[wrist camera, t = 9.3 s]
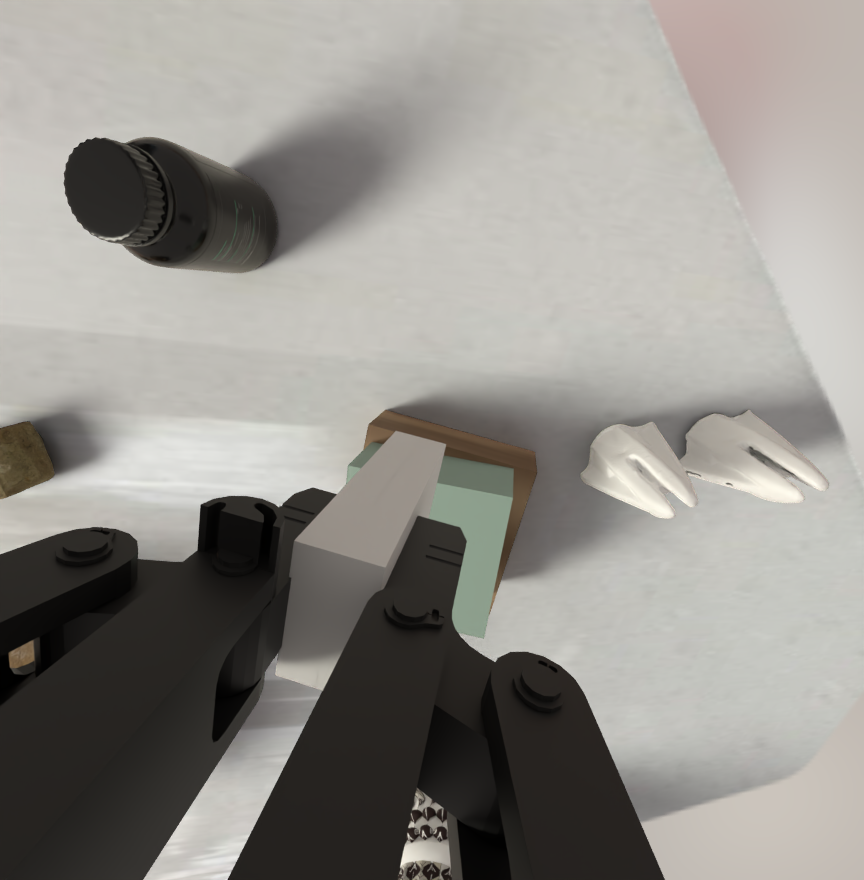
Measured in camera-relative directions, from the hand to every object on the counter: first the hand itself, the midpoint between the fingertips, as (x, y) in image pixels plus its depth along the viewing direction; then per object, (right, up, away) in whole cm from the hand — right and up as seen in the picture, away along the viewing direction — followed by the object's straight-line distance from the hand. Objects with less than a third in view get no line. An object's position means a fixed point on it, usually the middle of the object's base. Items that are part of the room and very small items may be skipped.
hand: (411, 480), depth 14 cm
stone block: (-35, +1, +31) cm, 47 cm away
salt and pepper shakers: (+17, +1, +21) cm, 27 cm away
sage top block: (+1, -5, +21) cm, 21 cm away
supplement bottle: (-14, +17, +22) cm, 31 cm away
